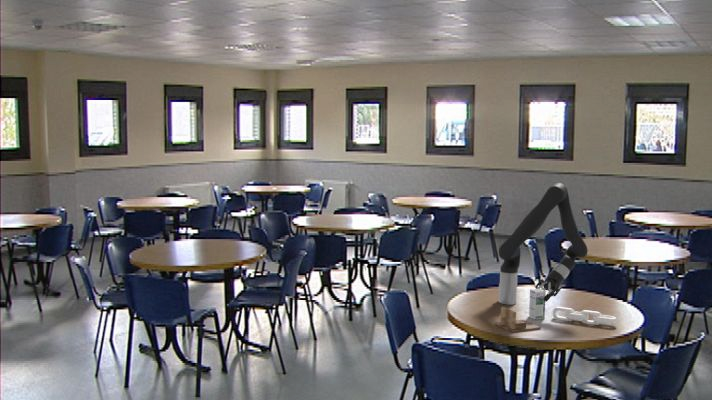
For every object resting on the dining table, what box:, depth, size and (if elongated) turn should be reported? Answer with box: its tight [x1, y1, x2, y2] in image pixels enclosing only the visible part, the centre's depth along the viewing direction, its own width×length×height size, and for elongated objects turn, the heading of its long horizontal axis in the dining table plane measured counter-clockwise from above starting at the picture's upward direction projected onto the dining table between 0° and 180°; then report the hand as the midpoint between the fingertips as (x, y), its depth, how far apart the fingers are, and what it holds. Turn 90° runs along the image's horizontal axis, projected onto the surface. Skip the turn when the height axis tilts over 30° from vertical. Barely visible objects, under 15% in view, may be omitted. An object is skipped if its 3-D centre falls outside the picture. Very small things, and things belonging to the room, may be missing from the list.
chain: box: [552, 306, 617, 326], centre depth 343 cm, size 30×6×6 cm, turn 65°
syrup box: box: [528, 288, 547, 321], centre depth 348 cm, size 6×6×14 cm
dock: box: [494, 306, 541, 334], centre depth 332 cm, size 14×16×9 cm
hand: (539, 298), depth 348 cm, fingers open, 8 cm apart
